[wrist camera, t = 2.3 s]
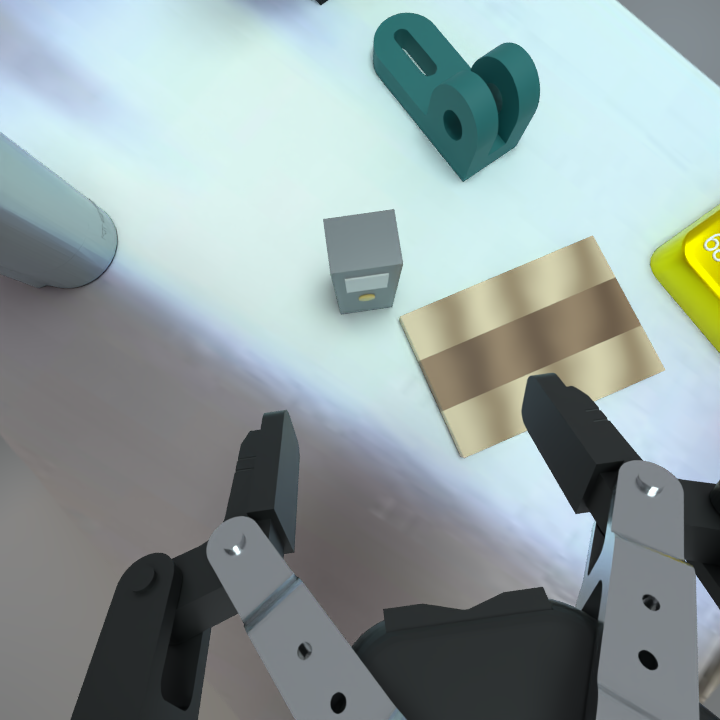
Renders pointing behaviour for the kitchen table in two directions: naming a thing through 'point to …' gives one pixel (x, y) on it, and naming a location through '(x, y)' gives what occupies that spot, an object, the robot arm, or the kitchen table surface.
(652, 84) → the kitchen table surface
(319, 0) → the cordless drill
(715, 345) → the element tile
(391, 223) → the grey upright block
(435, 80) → the bracket
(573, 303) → the plywood panel
